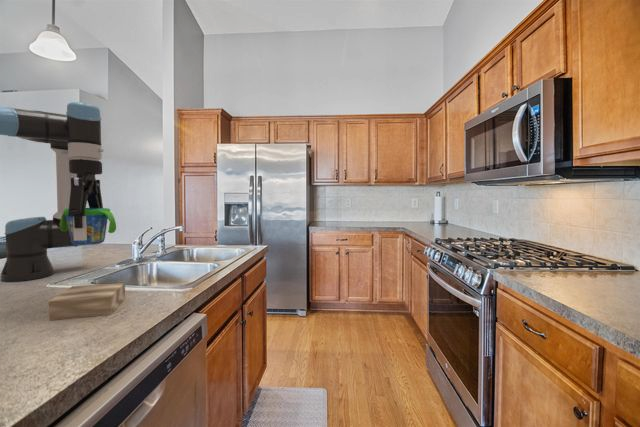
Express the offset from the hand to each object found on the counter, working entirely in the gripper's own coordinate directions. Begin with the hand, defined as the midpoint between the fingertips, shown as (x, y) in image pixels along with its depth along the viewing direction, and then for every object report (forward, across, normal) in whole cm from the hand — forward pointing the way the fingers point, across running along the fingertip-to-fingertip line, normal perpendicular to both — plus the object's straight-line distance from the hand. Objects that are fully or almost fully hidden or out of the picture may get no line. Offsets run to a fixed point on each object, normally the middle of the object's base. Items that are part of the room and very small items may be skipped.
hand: (88, 237), depth 89 cm
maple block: (+21, 0, 0) cm, 21 cm away
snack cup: (+2, 0, 0) cm, 2 cm away
